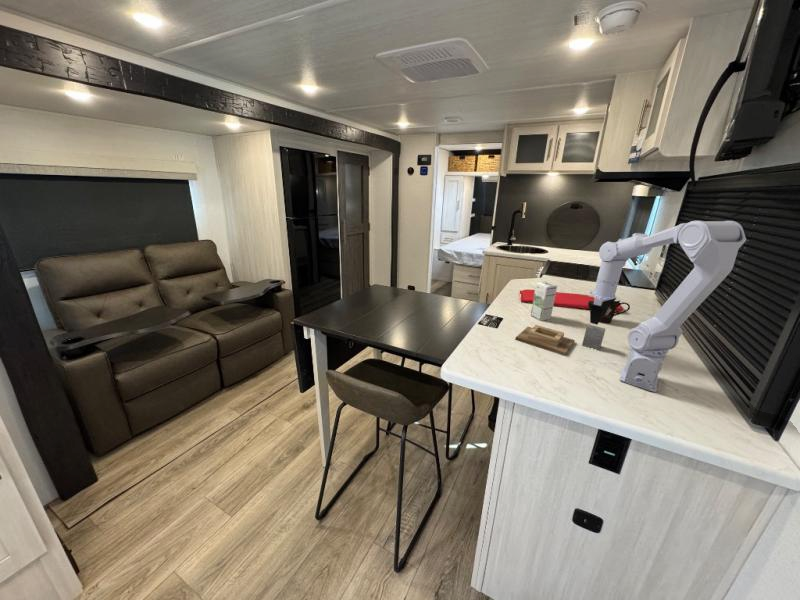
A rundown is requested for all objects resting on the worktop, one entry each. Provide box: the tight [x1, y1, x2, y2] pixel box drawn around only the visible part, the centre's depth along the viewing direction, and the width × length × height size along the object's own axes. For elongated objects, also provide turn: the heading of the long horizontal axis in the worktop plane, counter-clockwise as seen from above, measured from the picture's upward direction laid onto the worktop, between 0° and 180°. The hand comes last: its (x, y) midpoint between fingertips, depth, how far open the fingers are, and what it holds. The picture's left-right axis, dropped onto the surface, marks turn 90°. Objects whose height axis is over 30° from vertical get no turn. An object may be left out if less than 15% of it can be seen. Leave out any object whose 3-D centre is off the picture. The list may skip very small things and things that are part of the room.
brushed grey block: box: [581, 324, 607, 351], centre depth 102 cm, size 3×5×7 cm, turn 49°
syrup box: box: [530, 281, 558, 321], centre depth 124 cm, size 6×6×14 cm
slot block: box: [515, 324, 576, 357], centre depth 106 cm, size 12×16×4 cm
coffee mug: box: [598, 295, 631, 325], centre depth 122 cm, size 12×9×10 cm
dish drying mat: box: [519, 289, 624, 312], centre depth 143 cm, size 16×41×4 cm, turn 73°
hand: (597, 320), depth 101 cm, fingers open, 7 cm apart
